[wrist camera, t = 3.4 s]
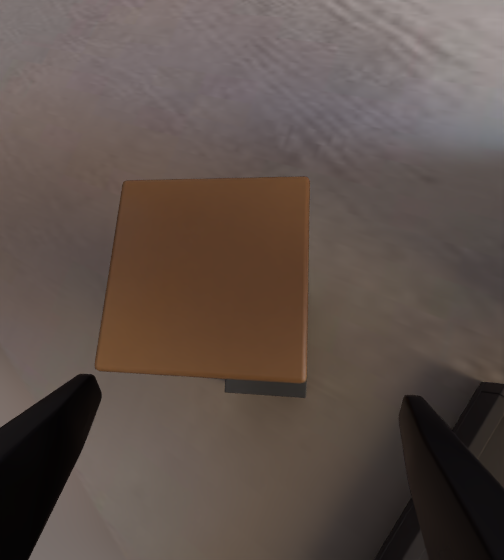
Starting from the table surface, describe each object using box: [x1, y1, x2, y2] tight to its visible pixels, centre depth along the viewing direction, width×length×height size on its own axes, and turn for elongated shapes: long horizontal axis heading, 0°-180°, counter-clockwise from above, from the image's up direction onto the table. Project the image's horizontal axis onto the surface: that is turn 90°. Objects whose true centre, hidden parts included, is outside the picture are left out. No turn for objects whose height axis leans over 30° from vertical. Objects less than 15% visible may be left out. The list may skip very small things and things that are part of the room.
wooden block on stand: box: [95, 176, 310, 398], centre depth 13 cm, size 6×4×15 cm, turn 177°
